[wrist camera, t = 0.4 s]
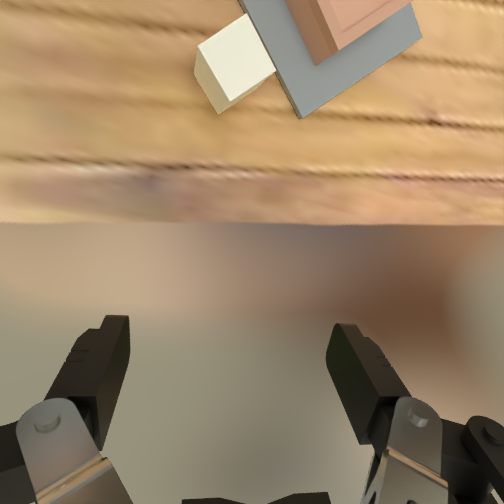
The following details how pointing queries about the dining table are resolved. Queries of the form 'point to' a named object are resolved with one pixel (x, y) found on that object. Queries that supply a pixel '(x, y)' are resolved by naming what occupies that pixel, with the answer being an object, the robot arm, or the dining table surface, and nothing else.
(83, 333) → the robot arm
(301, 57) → the tower base
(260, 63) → the tall brick
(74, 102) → the dining table surface
